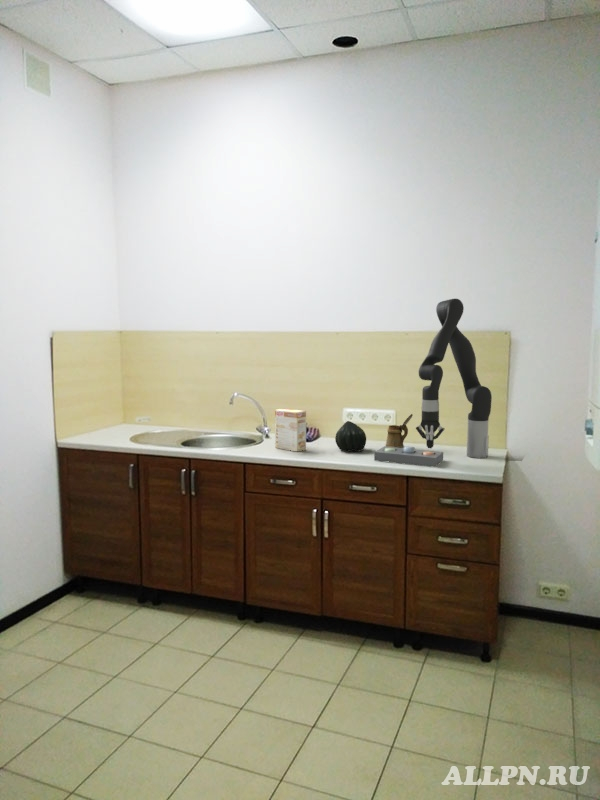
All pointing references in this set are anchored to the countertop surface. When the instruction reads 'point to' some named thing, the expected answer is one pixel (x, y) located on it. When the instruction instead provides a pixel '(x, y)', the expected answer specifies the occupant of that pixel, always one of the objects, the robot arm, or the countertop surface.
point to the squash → (350, 437)
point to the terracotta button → (428, 453)
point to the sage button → (390, 449)
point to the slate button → (409, 449)
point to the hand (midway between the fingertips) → (429, 448)
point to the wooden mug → (397, 434)
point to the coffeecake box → (290, 429)
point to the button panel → (409, 456)
